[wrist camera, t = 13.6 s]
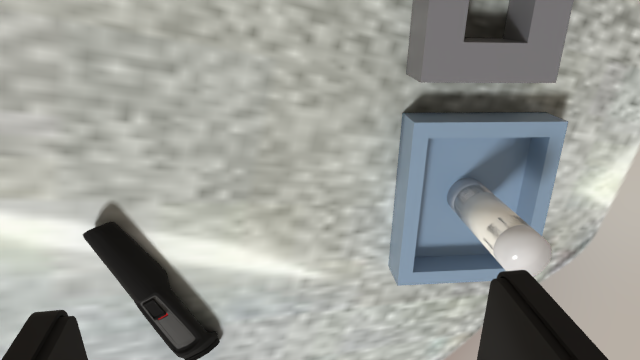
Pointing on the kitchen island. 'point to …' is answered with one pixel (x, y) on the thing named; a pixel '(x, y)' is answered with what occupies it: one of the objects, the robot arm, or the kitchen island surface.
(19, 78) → the kitchen island surface
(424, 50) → the gray square hole block
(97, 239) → the electric trimmer
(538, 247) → the white rounded cylinder piece
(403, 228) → the parts tray
